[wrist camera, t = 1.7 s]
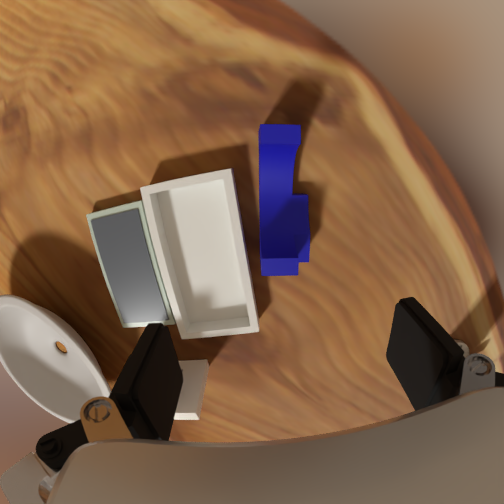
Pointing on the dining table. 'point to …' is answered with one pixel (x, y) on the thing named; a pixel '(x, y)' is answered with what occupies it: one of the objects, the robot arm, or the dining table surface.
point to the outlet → (192, 389)
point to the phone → (130, 265)
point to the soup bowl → (48, 359)
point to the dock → (202, 254)
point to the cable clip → (281, 202)
